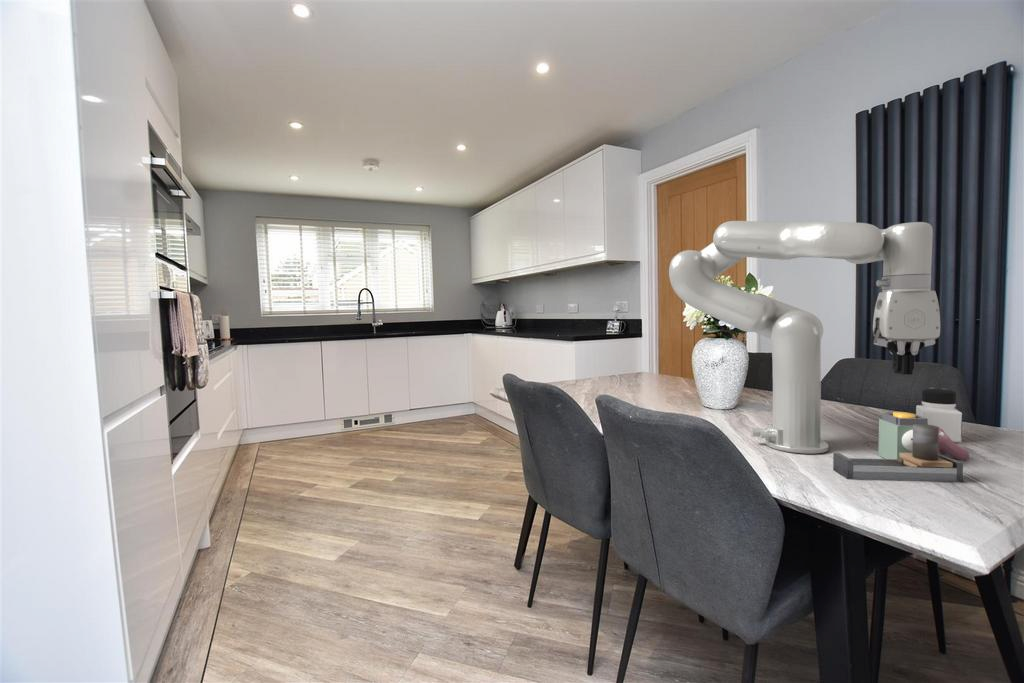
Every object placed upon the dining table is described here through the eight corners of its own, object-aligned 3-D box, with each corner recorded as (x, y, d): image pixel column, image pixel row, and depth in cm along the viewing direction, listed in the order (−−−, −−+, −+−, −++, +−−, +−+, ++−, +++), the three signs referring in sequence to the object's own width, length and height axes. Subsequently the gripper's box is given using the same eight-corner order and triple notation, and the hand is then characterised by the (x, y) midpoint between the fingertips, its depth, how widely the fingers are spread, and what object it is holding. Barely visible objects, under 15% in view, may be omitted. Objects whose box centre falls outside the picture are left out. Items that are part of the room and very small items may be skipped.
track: (847, 478, 87) (847, 460, 86) (833, 470, 91) (833, 452, 91) (962, 481, 84) (963, 462, 83) (941, 472, 88) (942, 454, 88)
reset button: (900, 423, 94) (900, 415, 94) (888, 419, 98) (888, 411, 98) (920, 423, 94) (920, 415, 94) (907, 419, 97) (908, 411, 97)
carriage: (921, 472, 84) (922, 430, 84) (899, 461, 90) (899, 422, 90) (952, 472, 83) (953, 430, 83) (928, 462, 89) (929, 422, 89)
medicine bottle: (962, 443, 107) (963, 391, 106) (921, 439, 111) (922, 390, 110) (953, 435, 113) (954, 387, 112) (915, 432, 117) (916, 385, 116)
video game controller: (928, 453, 105) (911, 425, 106) (952, 446, 103) (934, 418, 104) (946, 467, 96) (927, 436, 97) (972, 459, 94) (953, 428, 95)
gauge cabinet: (898, 465, 93) (899, 419, 93) (878, 455, 100) (879, 412, 99) (932, 466, 92) (933, 419, 92) (909, 456, 99) (910, 412, 98)
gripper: (876, 284, 92) (873, 376, 93) (962, 282, 89) (958, 376, 90) (855, 286, 99) (852, 371, 100) (933, 284, 97) (930, 371, 98)
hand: (902, 373), depth 95 cm, fingers closed
